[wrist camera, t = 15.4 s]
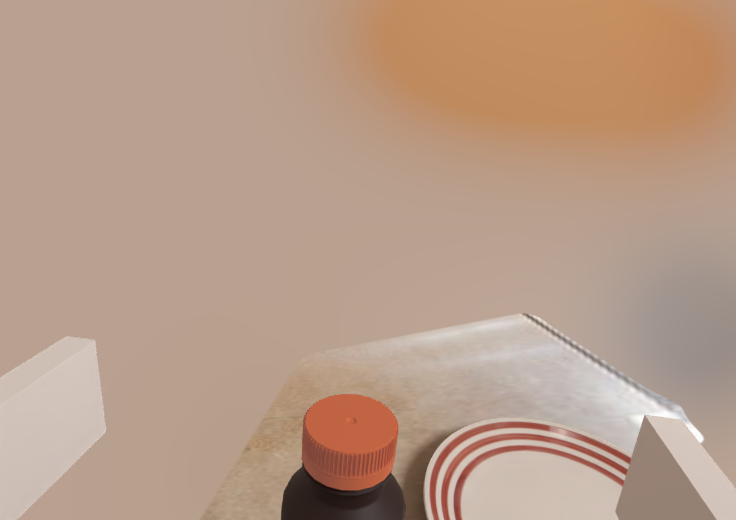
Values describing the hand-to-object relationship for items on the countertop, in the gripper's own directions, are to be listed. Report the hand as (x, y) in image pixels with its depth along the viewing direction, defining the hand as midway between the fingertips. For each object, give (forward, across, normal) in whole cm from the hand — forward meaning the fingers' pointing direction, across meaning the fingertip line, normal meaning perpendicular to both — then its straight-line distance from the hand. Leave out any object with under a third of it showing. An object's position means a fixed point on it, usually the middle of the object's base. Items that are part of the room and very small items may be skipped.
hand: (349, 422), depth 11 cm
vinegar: (+11, -2, -28) cm, 30 cm away
